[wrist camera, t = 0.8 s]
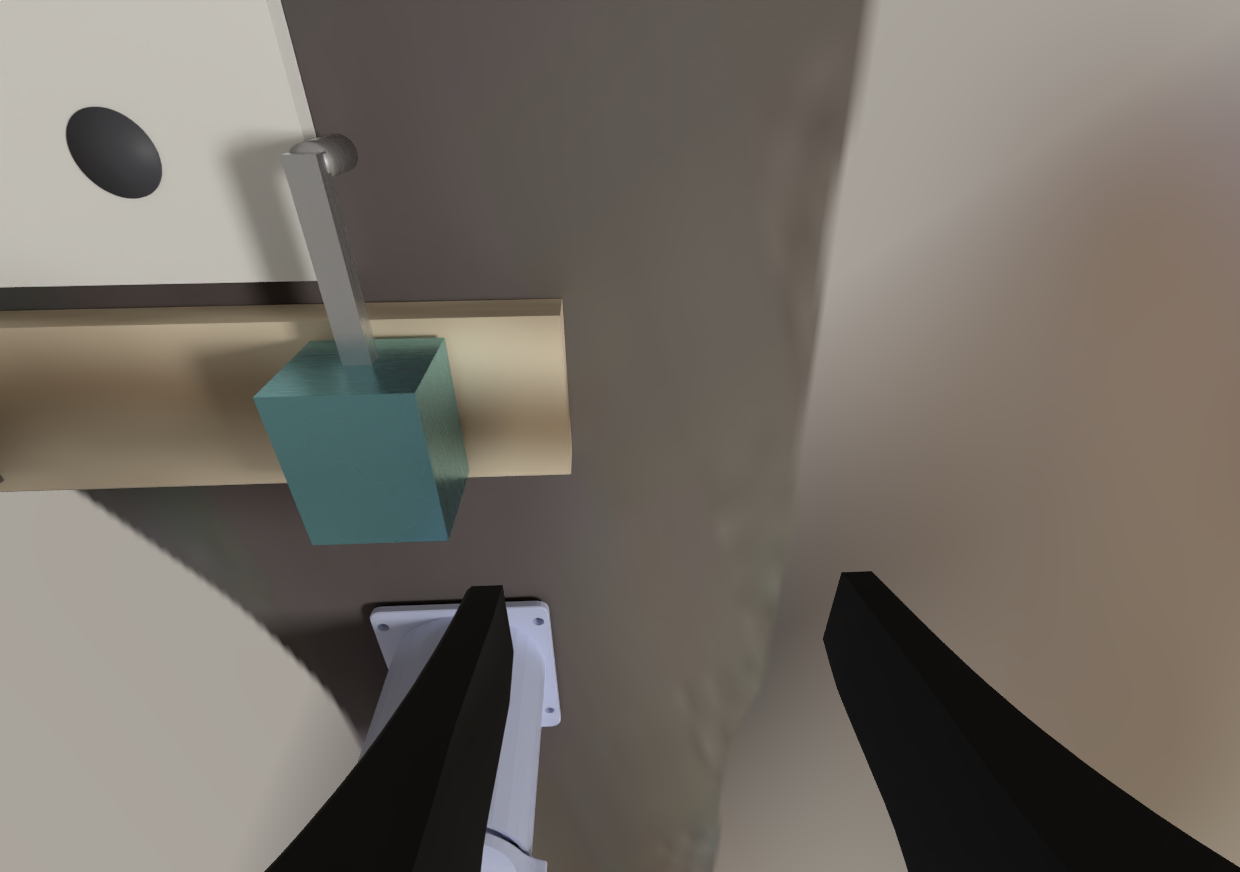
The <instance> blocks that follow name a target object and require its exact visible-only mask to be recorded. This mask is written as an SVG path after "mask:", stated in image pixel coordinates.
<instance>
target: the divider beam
mask: <svg viewBox="0 0 1240 872" xmlns="http://www.w3.org/2000/svg"><path fill="white" fill-rule="evenodd" d="M365 304H366V308H367V312H368V316H369V320H370V324H371V328H372V332H373V335H374V339H404V338H445V343H446V348H447V353H448V359H449V364H450V369H451V375H452V380H453V385H454V391H455V396H456V402H457V407H458V412H459V418H460V423H461V428H462V434H463V439H464V445H465V450H466V455H467V461H468V466H469V474H468V477H493V476H525V475H557V474H571V459H572V444H571V429H570V413H569V398H568V382H567V367H566V351H565V336H564V320H563V305H562V299H519V300H473V301H428V302H382V303H365ZM320 340H335V339H334V336H333V332H332V329H331V325H330V322H329V319H328V315H327V312H326V309H325V305H324V304H291V305H246V306H200V307H155V308H109V309H64V310H18V311H0V492H13V491H44V490H77V489H109V488H141V487H173V486H205V485H237V484H269V483H287V481H286V478H285V476H284V473H283V471H282V468H281V466H280V464H279V461H278V459H277V456H276V454H275V451H274V449H273V446H272V444H271V441H270V439H269V436H268V434H267V431H266V429H265V426H264V424H263V422H262V419H261V417H260V414H259V412H258V409H257V407H256V404H255V402H254V399H253V397H254V396H255V395H256V394H257V393H258V392H259V391H260V390H261V389H262V388H263V387H264V386H265V385H266V384H267V383H268V382H269V381H270V380H271V379H272V378H273V377H274V376H275V375H276V374H277V373H278V372H279V371H280V370H281V369H282V368H283V367H284V366H285V365H286V364H287V363H288V362H289V361H290V360H291V359H292V358H293V357H294V356H295V355H296V354H297V353H298V352H299V351H300V350H301V349H302V348H303V347H304V346H305V345H306V344H307V343H308V342H309V341H320Z"/></svg>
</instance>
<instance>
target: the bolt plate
mask: <svg viewBox="0 0 1240 872" xmlns="http://www.w3.org/2000/svg"><path fill="white" fill-rule="evenodd" d="M312 139H316V134H315V130H314V126H313V122H312V119H311V115H310V111H309V107H308V103H307V100H306V96H305V92H304V88H303V84H302V80H301V77H300V73H299V69H298V65H297V61H296V58H295V54H294V50H293V46H292V42H291V39H290V35H289V31H288V27H287V23H286V20H285V16H284V12H283V8H282V4H281V1H280V0H0V287H41V286H89V285H137V284H186V283H234V282H282V281H317V278H316V275H315V272H314V268H313V265H312V262H311V258H310V255H309V252H308V248H307V245H306V242H305V238H304V235H303V232H302V228H301V225H300V221H299V218H298V215H297V211H296V208H295V205H294V201H293V198H292V195H291V191H290V188H289V185H288V181H287V178H286V174H285V171H284V168H283V164H282V161H281V158H280V155H281V154H284V153H288V152H289V151H290V149H291V147H292V146H294V145H295V144H297V143H301V142H305V141H308V140H312Z"/></svg>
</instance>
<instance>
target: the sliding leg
mask: <svg viewBox="0 0 1240 872" xmlns="http://www.w3.org/2000/svg"><path fill="white" fill-rule="evenodd" d="M280 158H281V161H282V164H283V168H284V171H285V174H286V178H287V181H288V185H289V188H290V191H291V195H292V198H293V201H294V205H295V208H296V211H297V215H298V218H299V221H300V225H301V228H302V232H303V235H304V238H305V242H306V245H307V248H308V252H309V255H310V258H311V262H312V265H313V268H314V272H315V275H316V278H317V282H318V285H319V289H320V292H321V295H322V299H323V302H324V305H325V309H326V312H327V315H328V319H329V322H330V325H331V329H332V332H333V336H334V339H335V340H320V341H309V342H308V343H307V344H306V345H305V346H304V347H303V348H302V349H301V350H300V351H299V352H298V353H297V354H296V355H295V356H294V357H293V358H292V359H291V360H290V361H289V362H288V363H287V364H286V365H285V366H284V367H283V368H282V369H281V370H280V371H279V372H278V373H277V374H276V375H275V376H274V377H273V378H272V379H271V380H270V381H269V382H268V383H267V384H266V385H265V386H264V387H263V388H262V389H261V390H260V391H259V392H258V393H257V394H256V395H255V396H254V397H253V399H254V402H255V404H256V407H257V409H258V412H259V414H260V417H261V419H262V422H263V424H264V426H265V429H266V431H267V434H268V436H269V439H270V441H271V444H272V446H273V449H274V451H275V454H276V456H277V459H278V461H279V464H280V466H281V468H282V471H283V473H284V476H285V478H286V481H287V483H288V486H289V488H290V491H291V493H292V496H293V498H294V501H295V503H296V506H297V508H298V510H299V513H300V515H301V518H302V520H303V523H304V525H305V528H306V530H307V533H308V535H309V538H310V540H311V543H312V545H332V544H361V543H389V542H418V541H447V540H449V537H450V534H451V531H452V527H453V524H454V521H455V517H456V514H457V511H458V507H459V504H460V501H461V497H462V494H463V491H464V487H465V484H466V481H467V477H468V474H469V466H468V461H467V455H466V450H465V445H464V439H463V434H462V428H461V423H460V418H459V412H458V407H457V402H456V396H455V391H454V385H453V380H452V375H451V369H450V364H449V359H448V353H447V348H446V343H445V338H404V339H374V335H373V332H372V328H371V324H370V320H369V316H368V312H367V308H366V304H365V301H364V297H363V293H362V289H361V285H360V281H359V277H358V273H357V269H356V266H355V262H354V258H353V254H352V250H351V246H350V242H349V238H348V235H347V231H346V227H345V223H344V219H343V215H342V211H341V207H340V203H339V200H338V196H337V192H336V188H335V184H334V180H333V178H334V177H336V176H338V175H341V174H343V173H345V172H347V171H350V170H351V169H353V168H354V167H355V165H356V163H357V159H358V156H357V151H356V148H355V146H354V145H353V143H352V142H351V141H350V140H349V139H348V138H347V137H345V136H343V135H340V134H330V135H327V136H323V137H319V138H316V139H312V140H308V141H305V142H301V143H297V144H295V145H294V146H292V147H291V149H290V151H289V152H288V153H284V154H281V155H280Z"/></svg>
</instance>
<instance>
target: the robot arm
mask: <svg viewBox="0 0 1240 872" xmlns="http://www.w3.org/2000/svg"><path fill="white" fill-rule="evenodd" d="M539 618H540V619H539ZM370 621H371V624H372V627H373V630H374V632H375V635H376V638H377V640H378V643H379V646H380V649H381V651H382V654H383V657H384V660H385V662H386V665H387V668H388V673H387V676H386V679H385V682H384V685H383V688H382V691H381V694H380V697H379V700H378V703H377V706H376V709H375V712H374V715H373V718H372V721H371V724H370V727H369V730H368V733H367V736H366V739H365V742H364V745H363V748H362V751H361V754H360V757H359V760H358V763H357V765H356V766H355V767H354V768H353V770H352V771H351V772H350V774H349V775H348V776H347V777H346V779H345V780H344V781H343V782H342V783H341V785H340V786H339V787H338V788H337V790H336V791H335V792H334V793H333V795H332V796H331V797H330V798H329V799H328V800H327V802H326V803H325V804H324V805H323V806H322V808H321V809H320V810H319V811H318V812H317V813H316V815H315V816H314V817H313V818H312V820H311V821H310V822H309V823H308V824H307V825H306V826H305V828H304V829H303V830H302V831H301V832H300V833H299V835H298V836H297V837H296V838H295V839H294V840H293V841H292V842H291V843H290V845H289V846H288V847H287V848H286V849H285V850H284V851H283V853H281V855H280V856H279V857H278V858H277V859H276V860H275V861H274V862H273V863H272V864H271V865H270V866H269V867H268V868H267V870H265V872H547V862H546V861H545V860H541V859H536V858H533V857H531V855H532V842H533V829H534V816H535V802H536V789H537V776H538V763H539V750H540V736H541V727H544V726H555V725H557V724H559V723H560V720H561V713H560V704H559V695H558V686H557V676H556V667H555V658H554V649H553V640H552V631H551V622H550V613H549V607H548V605H547V604H546V603H545V602H542V601H515V602H505V597H504V591H503V585H497V586H472V587H470V588H469V589H468V590H467V591H466V593H465V595H464V597H463V599H462V601H461V603H460V604H436V605H409V606H383V607H376V608H375V609H373V611H372V613H371V615H370ZM823 641H824V644H825V648H826V652H827V655H828V659H829V663H830V666H831V670H832V673H833V676H834V679H835V683H836V686H837V689H838V692H839V695H840V697H841V700H842V702H843V704H844V707H845V709H846V712H847V714H848V717H849V719H850V721H851V724H852V726H853V729H854V731H855V733H856V736H857V738H858V741H859V743H860V745H861V748H862V750H863V752H864V754H865V757H866V760H867V762H868V764H869V767H870V769H871V771H872V774H873V776H874V779H875V781H876V783H877V786H878V788H879V791H880V793H881V795H882V798H883V800H884V803H885V805H886V808H887V810H888V813H889V816H890V818H891V821H892V823H893V826H894V829H895V832H896V835H897V838H898V841H899V844H900V847H901V850H902V853H903V856H904V860H905V862H906V866H907V869H908V872H1240V867H1238V866H1236V865H1235V864H1233V863H1232V862H1230V861H1229V860H1227V859H1225V858H1224V857H1222V856H1221V855H1219V854H1217V853H1216V852H1214V851H1213V850H1211V849H1210V848H1208V847H1206V846H1205V845H1203V844H1202V843H1200V842H1198V841H1197V840H1195V839H1194V838H1192V837H1191V836H1189V835H1188V834H1186V833H1185V832H1183V831H1182V830H1180V829H1179V828H1177V827H1175V826H1174V825H1172V824H1171V823H1169V822H1168V821H1167V820H1165V819H1163V818H1162V817H1160V816H1159V815H1158V814H1156V813H1154V812H1153V811H1152V810H1150V809H1149V808H1147V807H1146V806H1145V805H1143V804H1142V803H1140V802H1139V801H1137V800H1136V799H1135V798H1133V797H1132V796H1130V795H1129V794H1127V793H1126V792H1125V791H1123V790H1122V789H1120V788H1119V787H1117V786H1116V785H1115V784H1113V783H1112V782H1110V781H1109V780H1107V779H1106V778H1105V777H1103V776H1102V775H1101V774H1099V773H1098V772H1097V771H1095V770H1094V769H1092V768H1091V767H1090V766H1088V765H1087V764H1086V763H1084V762H1083V761H1082V760H1080V759H1079V758H1078V757H1077V756H1075V755H1074V754H1073V753H1071V752H1070V751H1069V750H1068V749H1066V748H1065V747H1064V746H1062V745H1061V744H1060V743H1059V742H1057V741H1056V740H1055V739H1053V738H1052V737H1051V736H1050V735H1048V734H1047V733H1046V732H1044V731H1043V730H1042V729H1041V728H1039V727H1038V726H1037V725H1036V724H1034V723H1033V722H1032V721H1031V720H1029V719H1028V718H1027V717H1026V716H1025V715H1023V714H1022V713H1021V712H1020V711H1018V709H1016V708H1015V707H1014V706H1013V705H1012V704H1011V703H1009V702H1008V701H1007V700H1006V699H1005V698H1003V696H1001V695H1000V694H999V693H998V692H997V691H996V690H994V689H993V688H992V687H991V686H989V684H987V683H986V682H985V681H984V680H983V679H982V678H981V677H980V676H979V675H978V674H976V673H975V672H974V671H973V670H972V669H971V668H970V667H969V666H968V665H966V663H964V662H963V661H962V660H961V659H960V658H959V657H958V656H957V655H956V654H955V653H954V652H953V651H952V650H951V649H950V648H948V646H946V645H945V644H944V643H943V642H942V641H941V640H940V639H939V638H938V637H937V636H936V635H935V634H934V633H933V632H932V631H931V630H930V629H929V628H928V627H927V626H926V625H925V624H924V623H923V622H922V621H921V620H920V619H919V618H918V617H917V616H916V615H915V614H914V613H913V612H912V611H911V610H910V609H909V608H908V607H907V606H906V605H905V604H904V603H903V602H902V601H901V600H900V599H899V598H898V597H897V596H895V594H894V593H893V592H891V590H890V589H888V587H887V586H886V585H885V584H884V583H883V582H882V581H881V580H880V579H879V578H878V577H877V576H876V575H875V574H874V573H873V572H871V571H867V572H842V573H841V576H840V580H839V584H838V587H837V590H836V594H835V598H834V601H833V605H832V608H831V612H830V616H829V619H828V622H827V626H826V630H825V633H824V637H823Z"/></svg>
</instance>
